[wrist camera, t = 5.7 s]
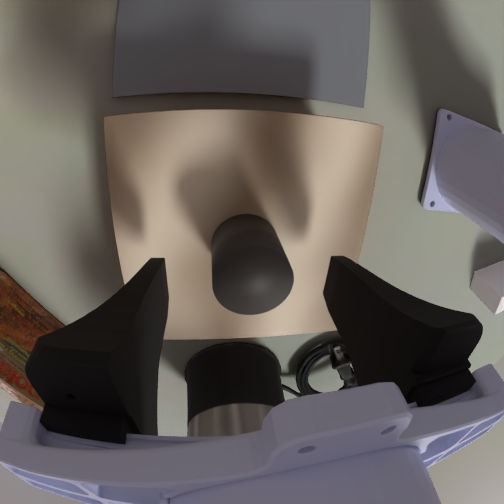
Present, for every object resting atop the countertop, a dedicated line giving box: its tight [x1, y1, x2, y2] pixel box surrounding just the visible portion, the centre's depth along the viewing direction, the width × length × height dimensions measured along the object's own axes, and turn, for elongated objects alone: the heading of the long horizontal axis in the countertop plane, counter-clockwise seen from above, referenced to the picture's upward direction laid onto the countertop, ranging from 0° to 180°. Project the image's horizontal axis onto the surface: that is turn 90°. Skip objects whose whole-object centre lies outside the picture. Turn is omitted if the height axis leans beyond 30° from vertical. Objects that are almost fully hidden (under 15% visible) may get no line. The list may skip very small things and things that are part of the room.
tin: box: [0, 270, 65, 412], centre depth 18 cm, size 15×3×8 cm, turn 36°
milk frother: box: [185, 340, 358, 437], centre depth 21 cm, size 14×16×15 cm
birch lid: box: [104, 109, 384, 340], centre depth 13 cm, size 12×12×4 cm
